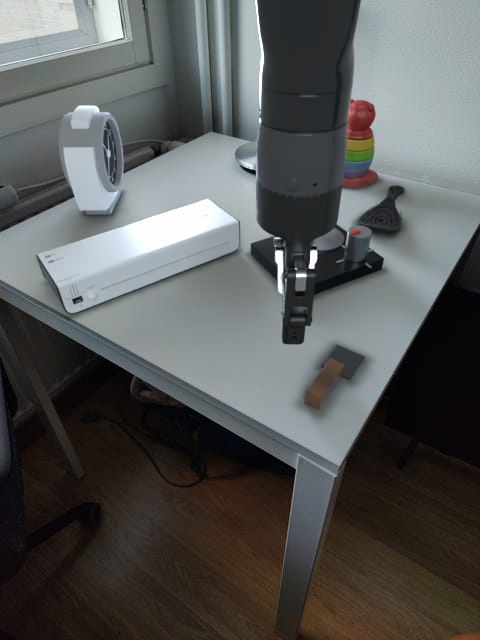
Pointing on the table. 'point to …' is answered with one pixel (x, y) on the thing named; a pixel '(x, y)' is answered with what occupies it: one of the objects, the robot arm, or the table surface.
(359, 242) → the hob knob
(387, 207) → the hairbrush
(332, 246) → the burner
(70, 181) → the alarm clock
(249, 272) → the table surface
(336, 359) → the spatula
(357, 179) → the stacking bear
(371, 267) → the hob
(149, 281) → the laminator
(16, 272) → the table surface
